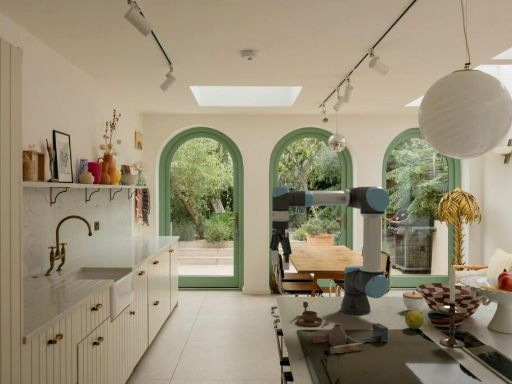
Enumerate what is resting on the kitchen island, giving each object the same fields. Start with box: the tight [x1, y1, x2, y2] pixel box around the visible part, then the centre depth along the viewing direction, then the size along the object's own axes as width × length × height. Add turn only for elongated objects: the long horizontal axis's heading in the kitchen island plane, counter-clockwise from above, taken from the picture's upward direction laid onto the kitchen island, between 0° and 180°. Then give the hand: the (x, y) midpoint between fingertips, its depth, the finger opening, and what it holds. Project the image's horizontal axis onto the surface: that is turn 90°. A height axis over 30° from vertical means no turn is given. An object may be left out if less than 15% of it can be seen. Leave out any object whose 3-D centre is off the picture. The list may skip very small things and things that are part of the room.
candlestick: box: [437, 258, 468, 349], centre depth 171 cm, size 11×11×35 cm
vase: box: [328, 323, 347, 347], centre depth 168 cm, size 7×7×9 cm
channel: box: [312, 332, 364, 355], centre depth 168 cm, size 14×14×3 cm
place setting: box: [290, 301, 329, 329], centre depth 203 cm, size 18×20×6 cm
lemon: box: [404, 310, 425, 330], centre depth 190 cm, size 11×8×8 cm
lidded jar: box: [402, 290, 425, 312], centre depth 221 cm, size 11×11×9 cm
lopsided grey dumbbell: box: [346, 322, 389, 344], centre depth 172 cm, size 16×9×6 cm, turn 110°
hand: (280, 267), depth 192 cm, fingers open, 13 cm apart
